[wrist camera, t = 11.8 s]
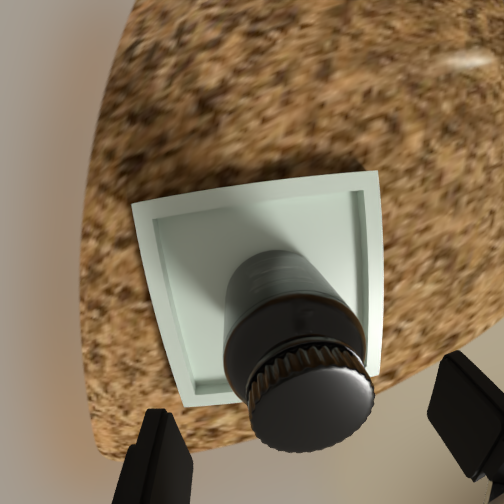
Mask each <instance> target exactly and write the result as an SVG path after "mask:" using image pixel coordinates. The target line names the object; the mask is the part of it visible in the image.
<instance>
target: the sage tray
mask: <svg viewBox="0 0 504 504" xmlns="http://www.w3.org/2000/svg"><path fill="white" fill-rule="evenodd" d="M131 205H132V211H133V217H134V222H135V227H136V233H137V238H138V243H139V248H140V252H141V257H142V262H143V266H144V271H145V275H146V279H147V283H148V288H149V292H150V296H151V300H152V304H153V307H154V311H155V315H156V319H157V322H158V326H159V330H160V333H161V337H162V340H163V343H164V347H165V350H166V353H167V357H168V360H169V363H170V366H171V369H172V373H173V376H174V379H175V382H176V385H177V388H178V391H179V394H180V396H181V399H182V402H183V405H184V407H194V406H208V405H219V404H229V403H238V402H242V401H241V400H240V399H239V398H238V397H237V396H236V395H235V393H234V392H233V391H232V389H231V388H230V386H229V384H228V382H227V380H226V377H225V373H224V368H223V334H224V312H225V297H226V290H227V286H228V283H229V280H230V278H231V276H232V275H233V273H234V272H235V270H236V269H237V268H238V267H239V266H240V265H241V264H242V263H243V262H244V261H245V260H247V259H248V258H250V257H252V256H254V255H256V254H258V253H261V252H264V251H269V250H285V251H290V252H294V253H296V254H299V255H300V256H302V257H304V258H305V259H307V260H308V261H309V262H310V263H312V265H313V266H314V267H315V268H316V269H317V270H318V271H319V272H320V273H321V274H322V276H323V277H324V278H325V279H326V280H327V281H328V282H329V284H330V285H331V286H332V287H333V288H334V289H335V291H336V292H337V293H338V294H339V295H340V297H341V298H342V299H343V300H344V301H345V302H346V304H347V305H348V306H349V307H350V308H351V310H352V311H353V312H354V314H355V315H356V317H357V318H358V319H359V321H360V323H361V325H362V327H363V330H364V334H365V338H366V356H365V361H364V366H365V370H366V371H367V373H368V374H369V376H370V377H373V376H376V375H379V370H380V359H381V345H382V328H383V296H384V263H383V232H382V214H381V200H380V188H379V178H378V171H358V172H346V173H335V174H324V175H314V176H305V177H296V178H287V179H279V180H271V181H263V182H255V183H248V184H241V185H234V186H227V187H221V188H214V189H208V190H202V191H196V192H190V193H184V194H178V195H173V196H167V197H162V198H156V199H151V200H146V201H141V202H137V203H133V204H131Z"/></svg>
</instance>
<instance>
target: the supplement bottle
mask: <svg viewBox="0 0 504 504" xmlns="http://www.w3.org/2000/svg"><path fill="white" fill-rule="evenodd" d="M365 356H366V338H365V334H364V330H363V327H362V325H361V323H360V321H359V319H358V318H357V317H356V315H355V314H354V312H353V311H352V310H351V308H350V307H349V306H348V305H347V304H346V302H345V301H344V300H343V299H342V298H341V297H340V295H339V294H338V293H337V292H336V291H335V289H334V288H333V287H332V286H331V285H330V284H329V282H328V281H327V280H326V279H325V278H324V277H323V276H322V274H321V273H320V272H319V271H318V270H317V269H316V268H315V267H314V266H313V265H312V263H310V262H309V261H308V260H307V259H305V258H304V257H302V256H300V255H299V254H296V253H294V252H290V251H285V250H269V251H264V252H261V253H258V254H256V255H254V256H252V257H250V258H248V259H247V260H245V261H244V262H243V263H242V264H241V265H240V266H239V267H238V268H237V269H236V270H235V272H234V273H233V275H232V276H231V278H230V280H229V283H228V286H227V290H226V297H225V312H224V334H223V368H224V373H225V377H226V380H227V382H228V384H229V386H230V388H231V389H232V391H233V392H234V393H235V395H236V396H237V397H238V398H239V399H240V400H241V401H242V402H244V403H245V404H246V405H247V406H248V410H249V419H250V422H251V428H252V430H253V431H254V432H255V435H256V437H257V438H259V439H261V442H262V443H264V444H267V445H268V446H269V447H270V448H275V449H276V450H278V451H285V452H288V453H292V452H296V453H303V452H313V451H316V450H322V449H324V448H327V447H331V446H333V445H335V444H336V443H339V442H342V441H343V440H344V439H345V438H347V437H349V436H351V435H352V434H353V433H354V432H355V431H356V430H358V429H359V428H360V427H361V425H362V424H363V423H364V422H365V421H366V420H367V417H368V416H369V415H370V413H371V409H372V407H373V406H374V398H375V393H374V385H373V383H372V381H371V379H370V376H369V374H368V373H367V371H366V370H365V366H364V361H365Z"/></svg>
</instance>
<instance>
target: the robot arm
mask: <svg viewBox="0 0 504 504" xmlns="http://www.w3.org/2000/svg"><path fill="white" fill-rule="evenodd" d="M427 417H428V419H429V421H430V422H431V424H432V425H433V427H434V428H435V430H436V431H437V433H438V434H439V436H440V437H441V438H442V440H443V441H444V443H445V445H446V446H447V448H448V449H449V451H450V452H451V453H452V455H453V457H454V458H455V460H456V461H457V463H458V464H459V466H460V468H461V469H462V471H463V472H464V474H465V475H466V477H468V478H471V479H472V481H473V482H476V481H478V480H479V479H481V478H483V477H484V476H485V475H486V476H487V478H488V479H489V480H488V485H487V490H486V494H485V499H484V503H483V504H504V393H503V392H502V391H501V390H500V389H499V388H498V387H497V386H496V385H495V384H494V383H493V382H492V381H491V380H490V379H489V378H488V377H487V376H486V375H485V374H484V373H483V372H482V371H481V370H480V369H479V368H478V367H477V366H476V365H474V363H473V362H471V361H470V360H469V359H468V358H467V357H466V356H465V355H464V354H463V353H462V352H461V351H459V350H456V351H454V352H451V353H449V354H446V355H444V357H443V359H442V360H441V361H440V364H439V369H438V373H437V377H436V381H435V385H434V389H433V393H432V396H431V400H430V403H429V406H428V410H427ZM192 474H193V460H192V457H191V455H190V453H189V451H188V449H187V446H186V444H185V442H184V440H183V438H182V435H181V433H180V431H179V429H178V426H177V424H176V422H175V419H174V417H173V415H172V413H170V412H169V413H167V411H166V410H165V409H147V411H146V413H145V416H144V420H143V423H142V426H141V429H140V433H139V436H138V439H137V443H136V444H132V445H131V446H129V448H128V450H127V454H126V457H125V460H124V463H123V467H122V470H121V473H120V477H119V480H118V483H117V487H116V490H115V494H114V497H113V501H112V504H190V496H191V485H192Z"/></svg>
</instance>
